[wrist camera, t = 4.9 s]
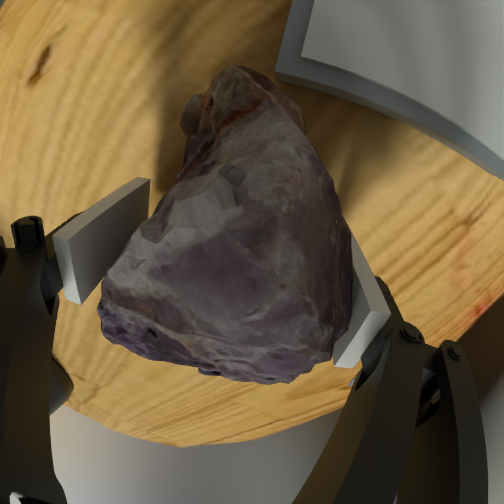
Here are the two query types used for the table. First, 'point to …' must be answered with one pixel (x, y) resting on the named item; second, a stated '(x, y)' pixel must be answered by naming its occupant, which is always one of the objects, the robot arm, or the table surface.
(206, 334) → the rock
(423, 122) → the grey flat square block
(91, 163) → the table surface
